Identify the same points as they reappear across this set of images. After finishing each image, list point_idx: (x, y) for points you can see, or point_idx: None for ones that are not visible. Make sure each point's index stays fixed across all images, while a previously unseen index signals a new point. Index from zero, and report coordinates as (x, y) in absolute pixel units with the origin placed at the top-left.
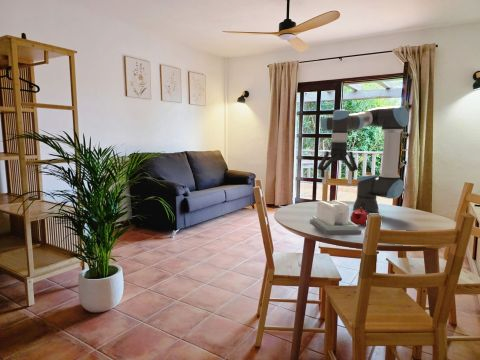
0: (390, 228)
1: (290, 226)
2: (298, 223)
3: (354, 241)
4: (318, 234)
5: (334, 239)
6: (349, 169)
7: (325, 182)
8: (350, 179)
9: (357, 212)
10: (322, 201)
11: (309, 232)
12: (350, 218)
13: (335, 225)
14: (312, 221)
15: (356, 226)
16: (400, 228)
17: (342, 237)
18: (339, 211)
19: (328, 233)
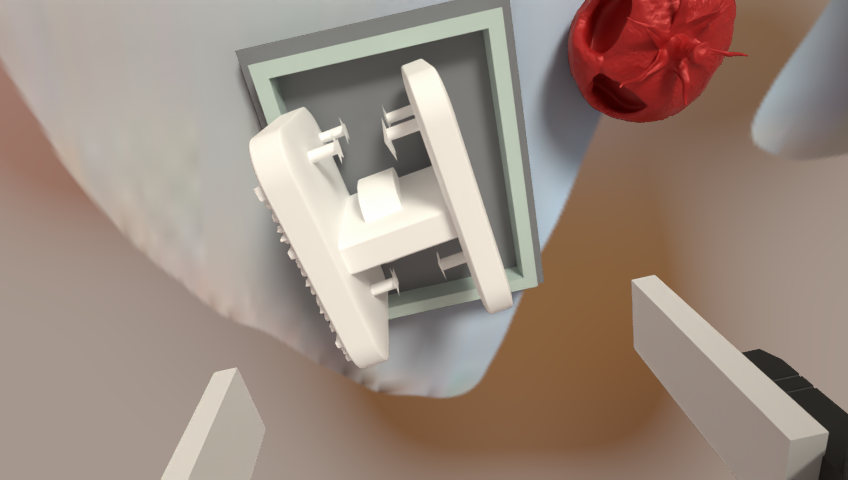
0: (775, 137)
1: (107, 202)
2: (153, 114)
3: (457, 393)
4: (293, 327)
5: (367, 384)
6: (845, 476)
7: (254, 451)
8: (676, 397)
9: (637, 74)
10: (292, 206)
11: (242, 303)
12: (570, 38)
13: None
14: (256, 107)
15: (522, 287)
16: (841, 126)
17: (414, 351)
18: (439, 264)
19: None
